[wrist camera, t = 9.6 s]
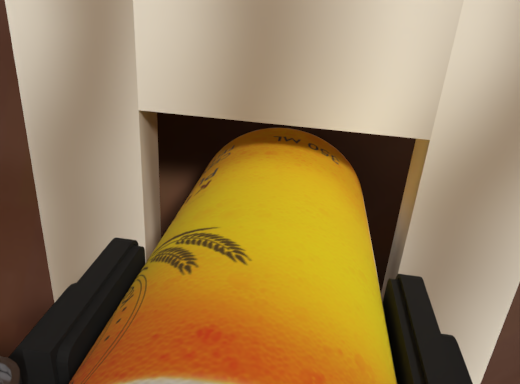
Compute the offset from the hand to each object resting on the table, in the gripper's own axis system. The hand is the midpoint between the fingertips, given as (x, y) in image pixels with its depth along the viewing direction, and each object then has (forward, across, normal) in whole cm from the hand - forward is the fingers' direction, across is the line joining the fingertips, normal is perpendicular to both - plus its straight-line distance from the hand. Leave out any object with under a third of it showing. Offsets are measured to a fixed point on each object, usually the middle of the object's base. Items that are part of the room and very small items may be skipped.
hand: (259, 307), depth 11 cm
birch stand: (+8, 0, 0) cm, 8 cm away
